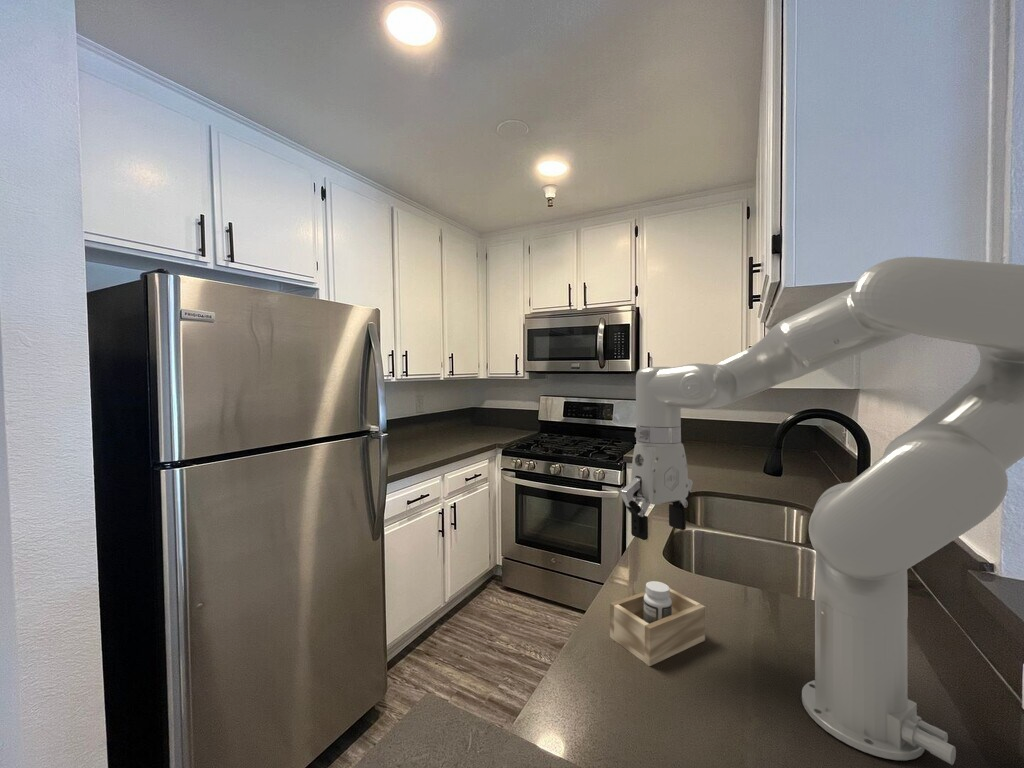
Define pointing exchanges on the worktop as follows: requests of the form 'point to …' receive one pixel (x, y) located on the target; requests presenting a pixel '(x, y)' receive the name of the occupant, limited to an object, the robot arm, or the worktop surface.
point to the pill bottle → (657, 602)
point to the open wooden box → (657, 627)
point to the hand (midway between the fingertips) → (658, 532)
